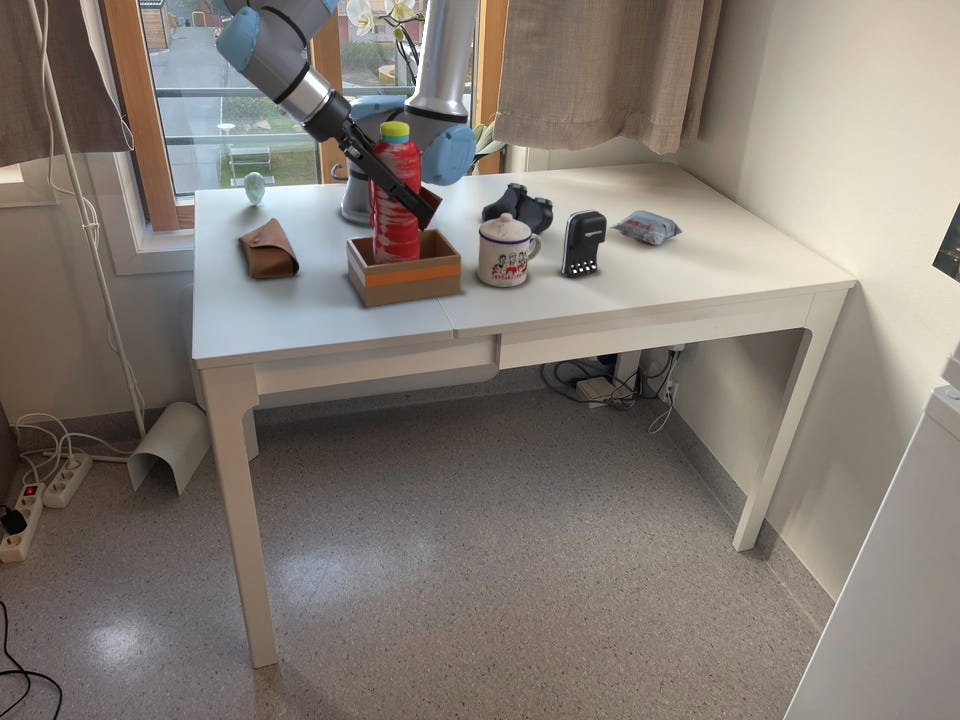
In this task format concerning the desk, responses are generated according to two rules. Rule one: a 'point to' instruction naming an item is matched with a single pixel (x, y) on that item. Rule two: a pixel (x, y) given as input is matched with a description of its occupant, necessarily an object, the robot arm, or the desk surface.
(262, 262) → the sunglasses case
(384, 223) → the water bottle
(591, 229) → the battery charger
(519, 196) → the binoculars
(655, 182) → the desk surface
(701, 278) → the desk surface
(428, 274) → the wooden box
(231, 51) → the robot arm
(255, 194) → the pale green rounded lump
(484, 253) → the teacup with lid
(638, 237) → the packaged food
